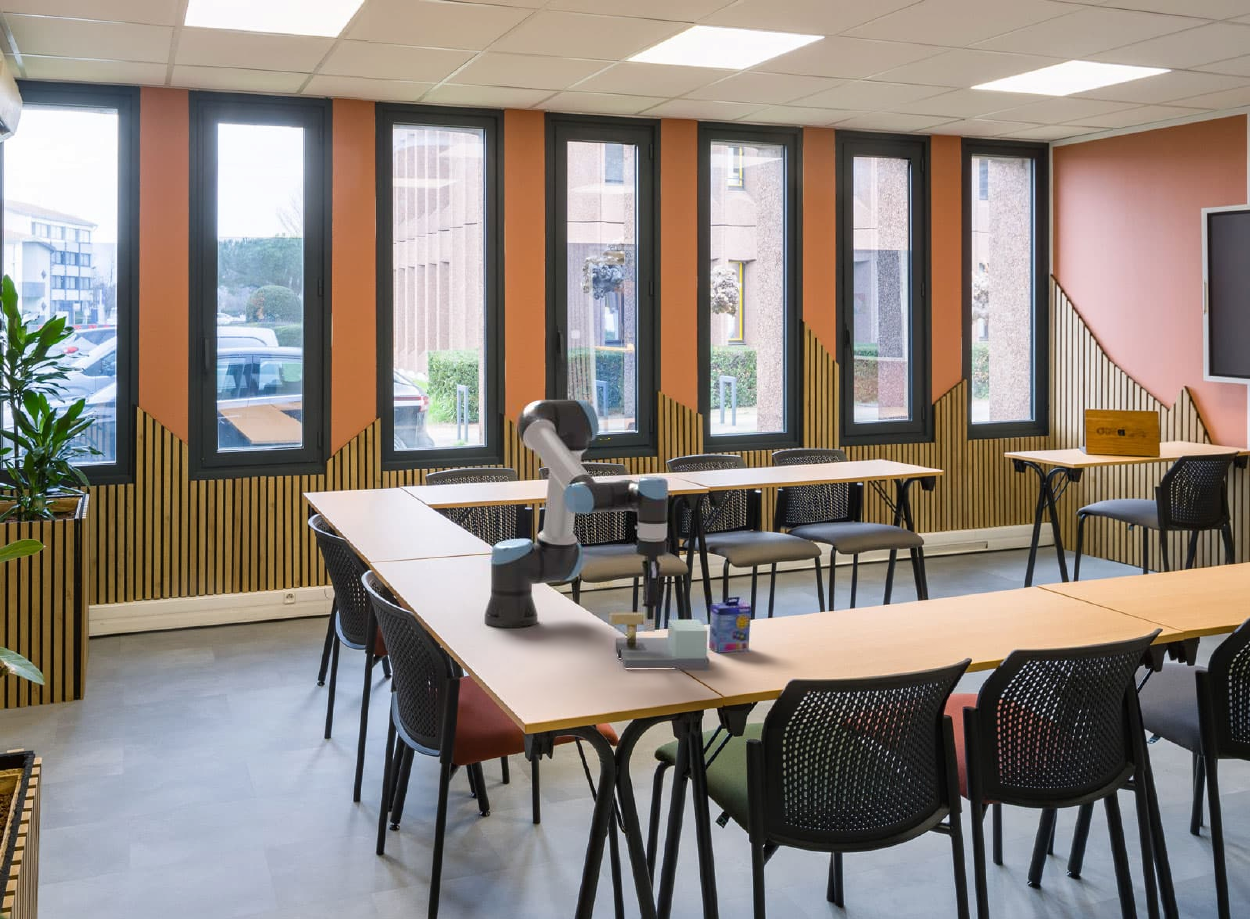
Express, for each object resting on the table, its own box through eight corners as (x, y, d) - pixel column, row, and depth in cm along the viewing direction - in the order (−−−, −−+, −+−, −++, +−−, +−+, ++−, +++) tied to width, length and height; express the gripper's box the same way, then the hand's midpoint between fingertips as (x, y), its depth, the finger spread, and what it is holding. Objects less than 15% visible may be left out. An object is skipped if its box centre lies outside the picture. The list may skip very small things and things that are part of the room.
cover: (667, 646, 301) (668, 619, 300) (698, 646, 302) (698, 619, 301) (674, 658, 289) (675, 630, 288) (706, 658, 290) (707, 630, 289)
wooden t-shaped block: (609, 643, 300) (610, 612, 300) (651, 643, 302) (652, 612, 301) (610, 646, 298) (611, 614, 297) (653, 645, 299) (653, 614, 298)
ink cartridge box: (717, 653, 305) (719, 599, 303) (707, 648, 310) (709, 594, 308) (750, 650, 309) (752, 596, 307) (740, 645, 314) (742, 592, 312)
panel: (613, 647, 309) (613, 637, 308) (693, 646, 311) (693, 637, 311) (623, 670, 287) (623, 659, 287) (709, 669, 289) (709, 659, 289)
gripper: (633, 534, 299) (631, 624, 301) (640, 543, 286) (637, 637, 289) (662, 534, 300) (660, 624, 302) (670, 543, 287) (667, 637, 289)
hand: (649, 630), depth 295 cm, fingers closed
